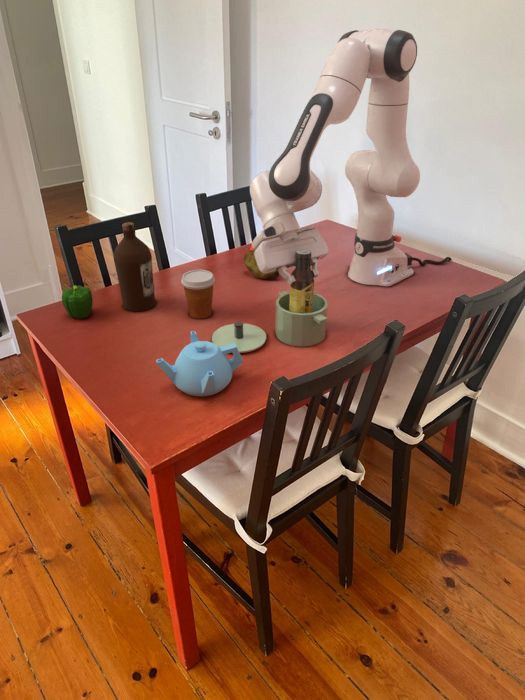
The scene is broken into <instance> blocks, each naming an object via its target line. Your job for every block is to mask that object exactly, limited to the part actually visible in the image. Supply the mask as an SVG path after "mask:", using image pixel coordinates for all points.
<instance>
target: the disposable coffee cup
mask: <svg viewBox="0 0 525 700" xmlns="http://www.w3.org/2000/svg"><path fill="white" fill-rule="evenodd" d="M215 281H216V278H215V276H214V274H213V272H211V271H210V270H207V269H191V270H188V271H186V272H185V273H183V274H182V277H181V279H180V282H181V285H182V286H183V290H184V294H185V299H186V303H187V309H188V312H189V316H190V317H191V318H192V319H206V318H209V317H210V316H211V315H212V308H213V298H214V297H213V295H214V284H215Z"/></svg>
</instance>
